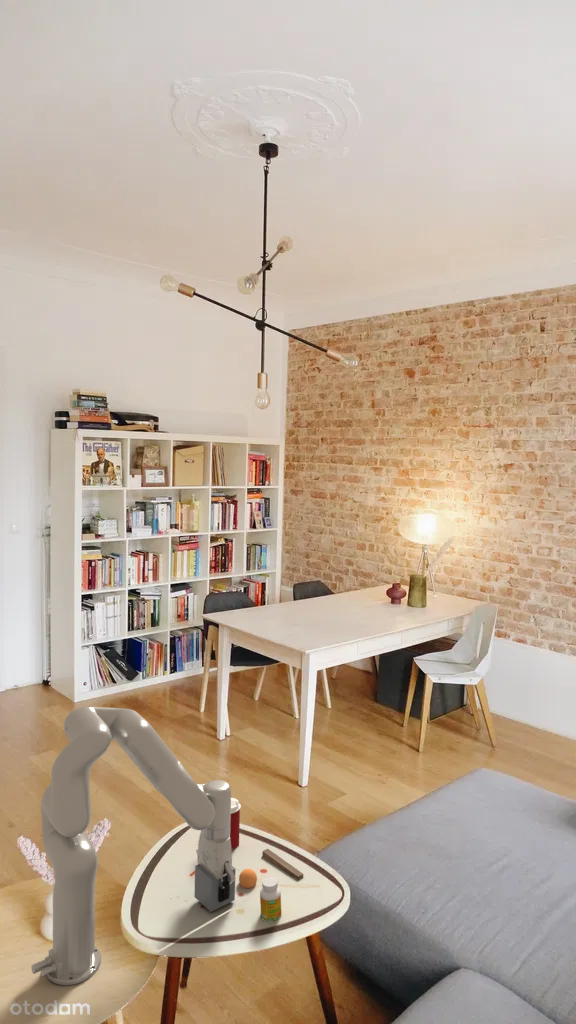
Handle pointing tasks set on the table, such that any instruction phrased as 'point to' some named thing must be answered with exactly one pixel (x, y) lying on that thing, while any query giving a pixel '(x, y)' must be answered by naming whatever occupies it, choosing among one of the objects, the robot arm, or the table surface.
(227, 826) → the robot arm
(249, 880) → the ball
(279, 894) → the supplement bottle
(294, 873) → the long brown rectangular bar
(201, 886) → the grey matte cube
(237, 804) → the paper cup
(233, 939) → the table surface
